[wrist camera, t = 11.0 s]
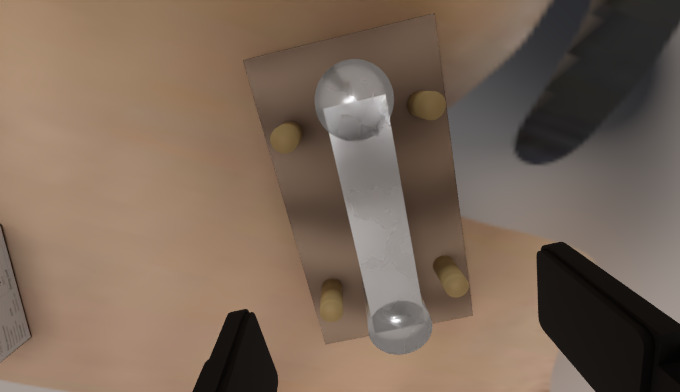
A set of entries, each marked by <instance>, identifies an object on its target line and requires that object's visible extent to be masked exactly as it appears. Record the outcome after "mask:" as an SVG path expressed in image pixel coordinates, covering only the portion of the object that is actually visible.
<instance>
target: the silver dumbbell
mask: <svg viewBox="0 0 680 392" xmlns="http://www.w3.org/2000/svg"><path fill="white" fill-rule="evenodd" d="M393 106H394V93H393V89H392V86H391V83H390V81H389V79H388V77H387V76H386V74H385V73H384V72H383V71H382V70H381V69H380V68H379V67H378V66H376V65H374V64H373V63H371V62H368V61H365V60H361V59H349V60H344V61H341V62H339V63H337V64H335V65H333V66H332V67H330V68H329V69H328V70H327V71H326V72H325V73H324V74H323V76H322V77H321V79H320V81H319V83H318V85H317V88H316V92H315V110H316V113H317V116H318V119H319V121H320V122H321V124H322V125H323V127H324V128H325V129H326V130H327V131H328V132H329V136H330V140H331V144H332V149H333V153H334V157H335V162H336V166H337V170H338V175H339V179H340V183H341V188H342V192H343V196H344V201H345V205H346V209H347V213H348V218H349V222H350V226H351V231H352V235H353V239H354V244H355V248H356V252H357V257H358V261H359V265H360V270H361V274H362V278H363V283H362V288H363V295H364V302H365V310H366V317H367V325H368V332H369V336H370V339H371V341H372V342H373V344H374V345H375V346H376V347H377V348H379V349H380V350H382V351H384V352H386V353H390V354H397V355H399V354H407V353H411V352H413V351H415V350H417V349H419V348H420V347H422V346H423V345H424V344H425V343H426V342H427V340H428V339H429V337H430V335H431V332H432V320H431V317H430V315H429V312H428V310H427V308H426V305H425V303H424V300H423V298H422V296H421V293H420V288H419V283H418V277H417V271H416V265H415V260H414V254H413V248H412V243H411V237H410V231H409V226H408V220H407V214H406V208H405V203H404V197H403V191H402V186H401V180H400V174H399V168H398V163H397V157H396V151H395V146H394V140H393V134H392V128H391V123H390V116H391V114H392V111H393Z"/></svg>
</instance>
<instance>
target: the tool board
mask: <svg viewBox="0 0 680 392" xmlns="http://www.w3.org/2000/svg"><path fill="white" fill-rule="evenodd" d="M349 59H361V60H365V61H368V62H371V63H373V64H374V65H376V66H378V67H379V68H380V69H381V70H382V71H383V72H384V73H385V74H386V76H387V77H388V79H389V81H390V83H391V86H392V89H393V93H394V106H393V111H392V114H391V116H390V123H391V128H392V134H393V140H394V146H395V151H396V157H397V163H398V168H399V174H400V180H401V186H402V191H403V197H404V203H405V208H406V214H407V220H408V226H409V231H410V237H411V243H412V248H413V254H414V260H415V265H416V271H417V277H418V283H419V288H420V293H421V296H422V298H423V300H424V303H425V305H426V308H427V310H428V312H429V315H430V317H431V320H432V323H438V322H443V321H448V320H453V319H458V318H463V317H468V316H473V311H472V303H471V295H470V288H469V280H468V272H467V264H466V256H465V248H464V240H463V233H462V225H461V217H460V209H459V201H458V193H457V186H456V178H455V170H454V162H453V154H452V146H451V138H450V130H449V123H448V115H447V107H446V99H445V91H444V83H443V75H442V68H441V60H440V52H439V44H438V36H437V28H436V20H435V13H433V14H429V15H425V16H421V17H417V18H413V19H409V20H405V21H401V22H397V23H393V24H388V25H384V26H380V27H376V28H372V29H368V30H364V31H360V32H356V33H352V34H348V35H344V36H340V37H336V38H331V39H327V40H323V41H319V42H315V43H311V44H307V45H303V46H299V47H295V48H291V49H287V50H283V51H278V52H274V53H270V54H266V55H262V56H258V57H254V58H250V59H246V60H243V62H244V66H245V69H246V73H247V76H248V79H249V83H250V86H251V90H252V93H253V97H254V100H255V104H256V107H257V110H258V114H259V117H260V121H261V124H262V128H263V131H264V134H265V138H266V141H267V145H268V148H269V152H270V155H271V159H272V162H273V165H274V169H275V172H276V176H277V179H278V183H279V186H280V190H281V193H282V196H283V200H284V203H285V207H286V210H287V214H288V217H289V220H290V224H291V227H292V231H293V234H294V238H295V241H296V245H297V248H298V251H299V255H300V258H301V262H302V265H303V269H304V272H305V275H306V279H307V282H308V286H309V289H310V293H311V296H312V300H313V303H314V306H315V310H316V313H317V317H318V320H319V324H320V327H321V331H322V334H323V337H324V341H325V344H330V343H335V342H340V341H345V340H350V339H356V338H361V337H366V336H369V332H368V325H367V317H366V310H365V302H364V295H363V288H362V283H363V278H362V274H361V270H360V265H359V261H358V257H357V252H356V248H355V244H354V239H353V235H352V231H351V226H350V222H349V218H348V213H347V209H346V205H345V201H344V196H343V192H342V188H341V183H340V179H339V175H338V170H337V166H336V162H335V157H334V153H333V149H332V144H331V140H330V136H329V132H328V131H327V130H326V129H325V128H324V127H323V125H322V124H321V122H320V121H319V119H318V116H317V113H316V110H315V92H316V88H317V85H318V83H319V81H320V79H321V77H322V76H323V74H324V73H325V72H326V71H327V70H328V69H329V68H330V67H332V66H333V65H335V64H337V63H339V62H341V61H344V60H349Z"/></svg>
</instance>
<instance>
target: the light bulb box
mask: <svg viewBox="0 0 680 392" xmlns="http://www.w3.org/2000/svg"><path fill="white" fill-rule="evenodd" d="M30 338H31V336H30V332H29V329H28V325H27V322H26V318H25V314H24V311H23V307H22V303H21V300H20V296H19V292H18V288H17V285H16V281H15V277H14V274H13V270H12V266H11V263H10V259H9V255H8V252H7V248H6V244H5V241H4V237H3V233H2V229H1V226H0V362H2V361H3V360H4V359H5V358H6V357H8V356H9V355H10V354H11V353H13V352H14V351H15V350H16V349H18V348H19V347H20V346H21V345H23V344H24V343H25V342H26V341H27V340H29V339H30Z"/></svg>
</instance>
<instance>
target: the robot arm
mask: <svg viewBox="0 0 680 392" xmlns="http://www.w3.org/2000/svg"><path fill="white" fill-rule="evenodd" d="M537 285H538V316H539V322H540V325H541V327H542V329H543V330H544V332H545V333H546V334H547V335H548V336H549V337H550V339H551V340H552V341H553V342H554V343H555V344H556V346H557V347H558V348H559V349H560V350H561V352H562V353H563V354H564V355H565V356H566V357H567V359H568V360H569V361H570V362H571V363H572V364H573V365H574V367H575V368H576V369H577V370H578V372H579V373H580V374H581V375H582V376H583V377H584V379H585V380H586V381H587V382H588V383H589V385H590V386H591V387H592V388H593V389H594V390H595V392H680V324H679V323H678V322H676V321H675V320H673V319H672V318H671V317H669V316H668V315H666V314H665V313H663V312H662V311H661V310H659V309H658V308H656V307H655V306H654V305H652V304H651V303H649V302H648V301H646V300H645V299H644V298H642V297H641V296H639V295H638V294H637V293H635V292H633V291H632V290H631V289H629V288H628V287H627V286H625V285H624V284H622V283H621V282H620V281H618V280H617V279H615V278H614V277H612V276H611V275H610V274H608V273H607V272H605V271H604V270H603V269H601V268H600V267H598V266H597V265H596V264H594V263H593V262H591V261H590V260H588V259H587V258H586V257H584V256H583V255H581V254H580V253H579V252H577V251H576V250H574V249H573V248H571V247H570V246H569V245H567V244H566V243H564V242H557V243H553V244H548V245H544V246H542V248H541V251H538V252H537ZM277 387H278V375H277V371H276V369H275V366H274V363H273V361H272V358H271V356H270V353H269V350H268V348H267V345H266V342H265V340H264V337H263V334H262V332H261V329H260V326H259V324H258V321H257V318H256V316H255V314H254V313H253V312H251V313H249V311H248V310H247V309H244V310H239V311H234V312H230V313H228V315H227V317H226V320H225V322H224V325H223V327H222V330H221V332H220V334H219V337H218V339H217V342H216V344H215V347H214V349H213V351H212V354H211V356H210V359H209V360H207V361H206V362H205V364H204V366H203V368H202V371H201V373H200V375H199V378H198V380H197V382H196V385H195V387H194V390H193V392H277Z"/></svg>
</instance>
